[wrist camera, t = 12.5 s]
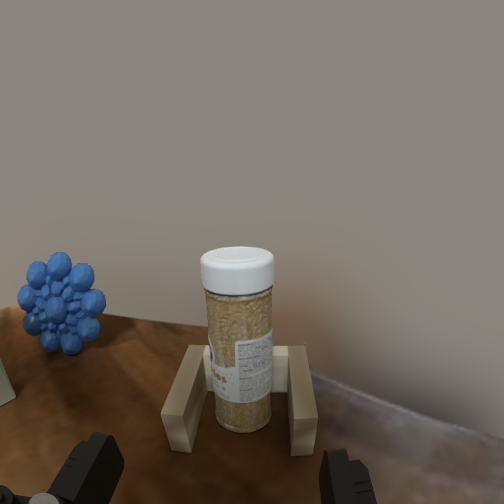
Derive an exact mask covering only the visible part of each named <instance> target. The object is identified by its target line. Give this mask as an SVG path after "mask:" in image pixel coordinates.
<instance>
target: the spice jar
mask: <svg viewBox="0 0 504 504" xmlns="http://www.w3.org/2000/svg"><path fill="white" fill-rule="evenodd" d="M200 267H201V282H202V285H203V287H204V290H205V294H206V304H207V318H208V330H209V333H208V339H209V349H210V359H211V371H212V382H213V388H214V392H215V401H216V410H215V415H216V419H217V421H218V422H219V424H220V425H222V426H223V427H224V428H226V429H227V430H230V431H234V432H238V433H246V432H253V431H256V430H258V429H261V428H262V427H264V426H265V425H266V424H267V423H268V422H269V421H270V419H271V416H272V409H271V406H270V400H271V397H270V390H271V387H272V332H273V331H272V329H273V327H272V319H271V318H272V314H271V313H272V310H271V307H272V299H271V298H272V297H271V291H272V287H273V283H274V257H273V255H272V254H271V253H270V252H269V251H267V250H264V249H261V248H254V247H226V248H219V249H215V250H212V251H209V252H207V253H205V254H204V255H203V256H202V257H201V260H200Z"/></svg>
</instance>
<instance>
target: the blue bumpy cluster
mask: <svg viewBox="0 0 504 504" xmlns="http://www.w3.org/2000/svg"><path fill="white" fill-rule="evenodd" d="M71 268H72V263H71V259H70V258H69V256H68V255H67V254H66V253H64V252H56V253H55V254H53V255H52V256H51V257H50V259H49V261H48V263H47V265H46V264H45V263H43V262H36V261H35V262H34V263H32V264H31V265H30V267H29V268H28V271H27V281H28V283H29V285H24V286H23V287H21V288H20V291H19V293H18V303H19V306H20V307H21V309H23V310H25V311H27V313H26V314H25V316H24V318H23V327H24V329H25V331H26V333H28V334H30V335H32V336H37V335H39V334H40V333H41V334H40V337H39V343H40V345H41V347H42V349H43V350H45V351H47V352H49V353H52V352H55V351H56V350H57V349H59V347H60V346H61V348H62V350H63V352H64V353H66V354H68V355H76V354H77V353H78V352H80V351H81V349H82V346H83V341H85V342H92V341H94V340H95V339H96V338H98V337H99V334H100V332H101V327H100V322H99V321H98V319H97V318H95V317H97V316H99V315H100V314H101V313H102V312H103V311H104V309H105V307H106V300H105V296H104V294H103V293H102V292H101V291H100V290H99V289H90V288H91V287H92V285H93V283H94V270H93V269H92V268H91V266H90V265H88V264H87V263H78V264H77V265H75V266H74V267H73V268H72V269H71Z"/></svg>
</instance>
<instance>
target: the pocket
mask: <svg viewBox="0 0 504 504" xmlns="http://www.w3.org/2000/svg"><path fill="white" fill-rule="evenodd" d="M208 391H214V388H213V382H212V371H211V359H210V349H209V346H205V345H189V347H188V349H187V352H186V354H185V356H184V359H183V361H182V363H181V366H180V368H179V370H178V373H177V375H176V377H175V380H174V382H173V385H172V387H171V389H170V392H169V394H168V396H167V399H166V401H165V404H164V406H163V408H162V411H161V413H160V414H161V417H162V421H163V424H164V428H165V431H166V434H167V438H168V441H169V444H170V447H171V450H172V451H180V452H189V453H192V449H193V445H194V441H195V438H196V434H197V430H198V426H199V422H200V418H201V415H202V411H203V407H204V403H205V399H206V396H207V392H208ZM270 392H287V399H288V414H289V429H290V446H291V456H304V455H313V449H314V443H315V437H316V431H317V424H318V413H317V407H316V402H315V396H314V391H313V385H312V380H311V374H310V369H309V364H308V359H307V354H306V349H305V345H303V346H272V387H271V390H270Z"/></svg>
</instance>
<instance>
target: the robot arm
mask: <svg viewBox="0 0 504 504" xmlns="http://www.w3.org/2000/svg"><path fill="white" fill-rule="evenodd" d="M68 457H69V458H67V460H66V461H65V463H64V466H62V468H61V470H60V471H59V473H58V475H57V476H56V478H55V480H54V482H53V483H52V485H51V487H50V488H49V490H48V491H47V492H46V493H39V494H36V495H34V496H33V497H25V496H19V495H14V494H13V493H12V492H11V491H10V490H9V489H8V488H7V487H5V486H3V485H0V504H109V502H110V500H111V498H112V495H113V493H114V491H115V488H116V486H117V484H118V481H119V479H120V477H121V474H122V472H123V469H124V459H123V456H122V454H121V452H120V450H119V448H118V446H117V444H116V441H115V439H114V437H113V436H111V435H107V434H103V433H98V432H94V433H92V434H91V436H90V438H89V439H88V441H87V442H86V441H82V442H81V443H79V444H78V445H77V446H75V447H74V448H73V450H72V452H71V453H70V455H69V456H68ZM319 485H320V493H321V501H322V504H377V502H376V498H375V494H374V492H373V487H372V483H371V480H370V476H369V472H368V469H367V468H366V467H365V465H364V464H363V463H362V462H361V461H360V460H353V461H349V459H348V455H347V451H346V449H345V448H340V449H331V450H325V451H324V454H323V459H322V464H321V468H320V473H319Z"/></svg>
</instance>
